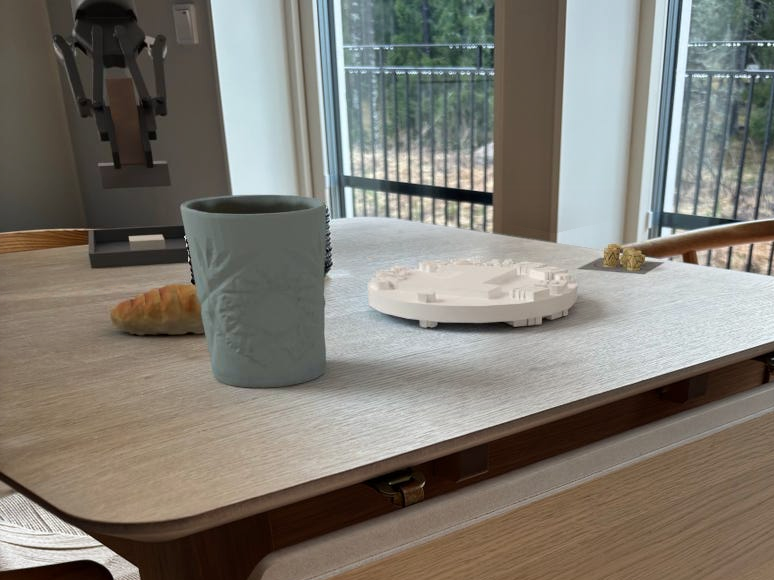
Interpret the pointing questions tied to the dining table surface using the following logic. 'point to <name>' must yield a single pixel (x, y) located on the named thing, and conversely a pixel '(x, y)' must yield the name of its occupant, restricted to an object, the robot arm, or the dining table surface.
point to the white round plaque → (474, 292)
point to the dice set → (622, 261)
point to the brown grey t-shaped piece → (129, 143)
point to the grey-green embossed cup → (260, 286)
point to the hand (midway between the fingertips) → (132, 159)
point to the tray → (116, 250)
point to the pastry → (161, 312)
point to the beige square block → (147, 242)
